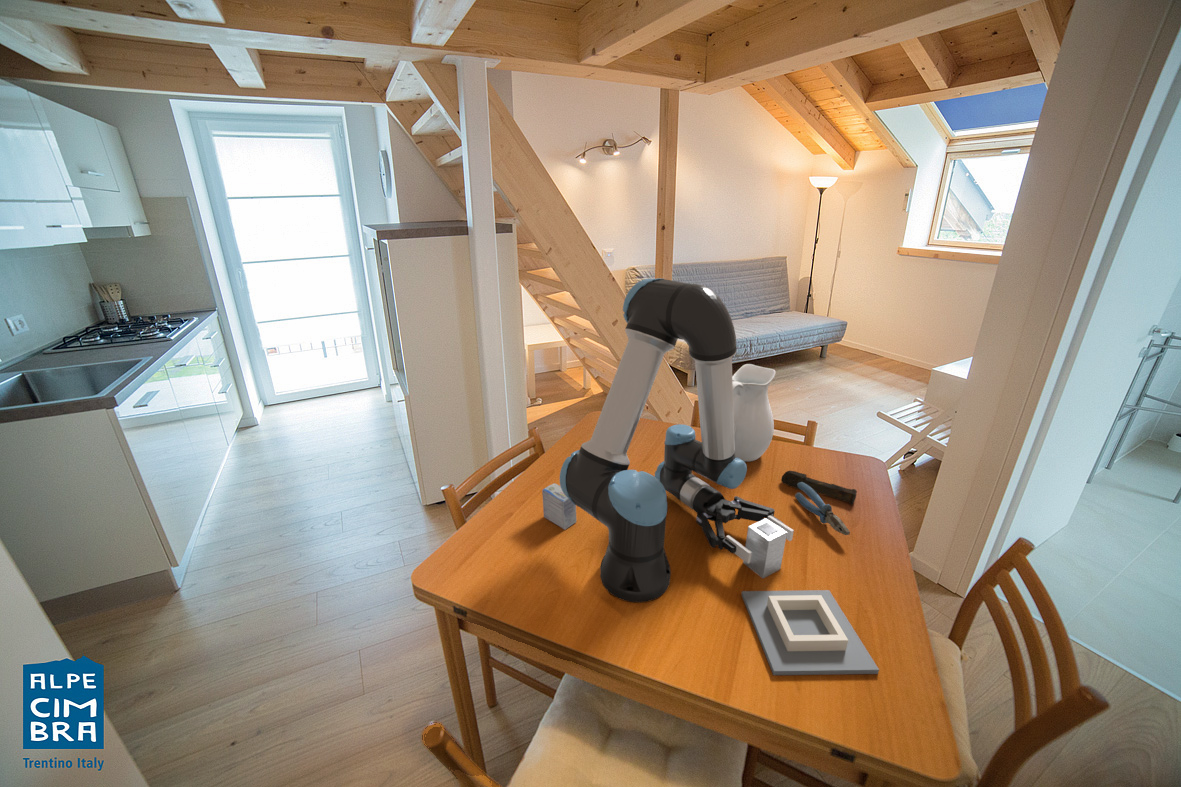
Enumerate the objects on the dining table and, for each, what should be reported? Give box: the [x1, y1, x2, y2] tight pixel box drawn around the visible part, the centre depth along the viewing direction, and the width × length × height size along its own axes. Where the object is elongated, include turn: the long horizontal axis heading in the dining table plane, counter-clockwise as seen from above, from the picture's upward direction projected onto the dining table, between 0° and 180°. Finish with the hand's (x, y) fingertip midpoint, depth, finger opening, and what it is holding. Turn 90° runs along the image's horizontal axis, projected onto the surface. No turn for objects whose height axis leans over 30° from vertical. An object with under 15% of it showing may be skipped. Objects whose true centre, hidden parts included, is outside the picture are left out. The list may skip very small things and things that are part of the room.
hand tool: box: [780, 470, 858, 506], centre depth 132 cm, size 19×4×5 cm, turn 54°
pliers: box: [794, 482, 851, 536], centre depth 120 cm, size 20×2×6 cm, turn 10°
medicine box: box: [541, 483, 577, 530], centre depth 120 cm, size 8×4×9 cm, turn 47°
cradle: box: [741, 589, 880, 676], centre depth 89 cm, size 18×18×4 cm
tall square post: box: [742, 518, 787, 579], centre depth 104 cm, size 6×6×10 cm
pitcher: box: [732, 363, 777, 462], centre depth 146 cm, size 24×17×28 cm
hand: (771, 546), depth 103 cm, fingers open, 13 cm apart
